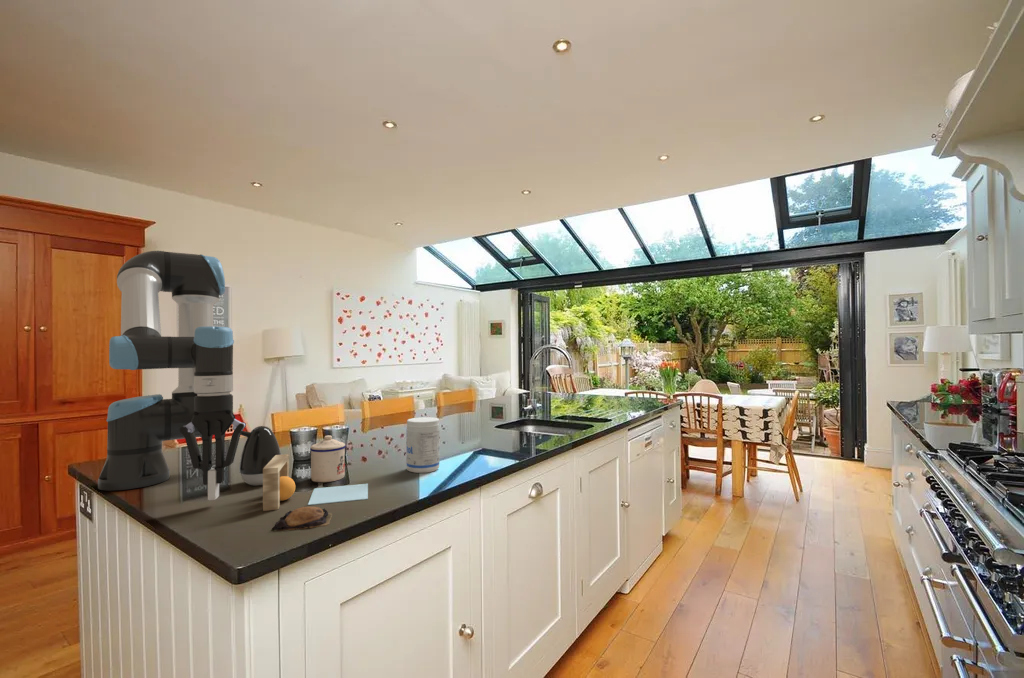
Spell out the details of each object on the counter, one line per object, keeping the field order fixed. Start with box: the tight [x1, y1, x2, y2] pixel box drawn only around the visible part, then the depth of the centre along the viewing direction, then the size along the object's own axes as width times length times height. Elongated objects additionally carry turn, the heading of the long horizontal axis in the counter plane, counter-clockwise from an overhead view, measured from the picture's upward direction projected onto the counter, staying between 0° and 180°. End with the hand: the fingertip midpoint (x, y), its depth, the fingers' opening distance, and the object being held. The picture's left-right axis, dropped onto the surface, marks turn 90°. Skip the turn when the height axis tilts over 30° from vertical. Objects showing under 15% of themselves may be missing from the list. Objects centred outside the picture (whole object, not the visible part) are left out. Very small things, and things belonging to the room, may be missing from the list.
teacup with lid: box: [309, 434, 346, 483], centre depth 129 cm, size 12×9×12 cm
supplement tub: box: [406, 416, 440, 474], centre depth 136 cm, size 10×10×15 cm
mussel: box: [272, 506, 333, 532], centre depth 95 cm, size 11×8×4 cm
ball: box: [280, 476, 296, 502], centre depth 109 cm, size 6×6×6 cm
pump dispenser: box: [238, 425, 282, 487], centre depth 124 cm, size 10×10×15 cm
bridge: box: [262, 453, 290, 512], centre depth 109 cm, size 3×14×9 cm, turn 17°
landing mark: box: [307, 483, 369, 506], centre depth 113 cm, size 13×13×1 cm
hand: (213, 498), depth 105 cm, fingers closed
